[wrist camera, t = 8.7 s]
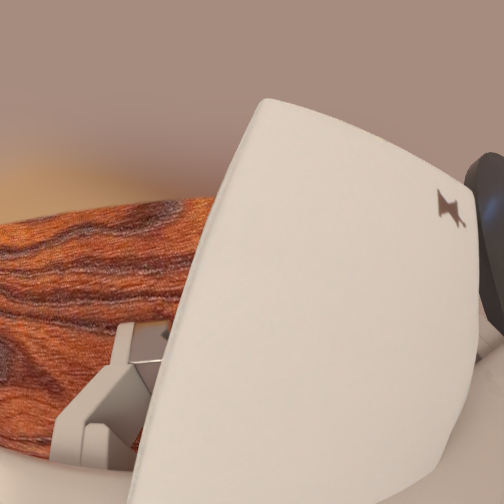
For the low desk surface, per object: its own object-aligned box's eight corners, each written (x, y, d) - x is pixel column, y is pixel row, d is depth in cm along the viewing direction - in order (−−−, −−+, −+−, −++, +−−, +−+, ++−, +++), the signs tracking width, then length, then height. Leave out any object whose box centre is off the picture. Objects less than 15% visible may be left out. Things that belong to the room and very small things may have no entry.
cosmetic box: (230, 270, 15) (262, 82, 4) (304, 293, 15) (481, 187, 4) (195, 377, 13) (113, 513, 2) (273, 399, 13) (412, 533, 2)
